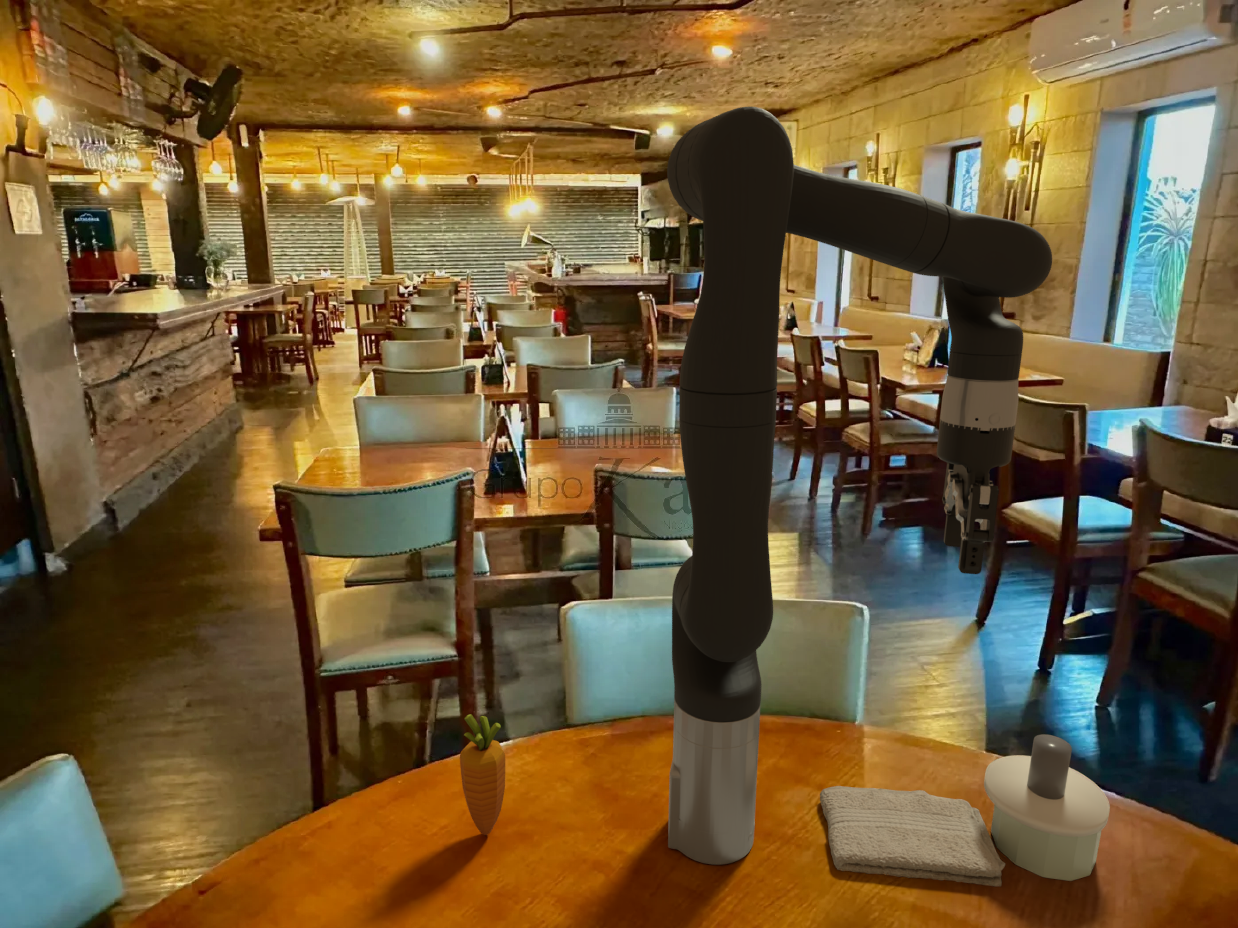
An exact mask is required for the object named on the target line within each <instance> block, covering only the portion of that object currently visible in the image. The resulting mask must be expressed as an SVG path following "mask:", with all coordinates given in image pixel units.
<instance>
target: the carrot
mask: <svg viewBox="0 0 1238 928" xmlns="http://www.w3.org/2000/svg"><path fill="white" fill-rule="evenodd" d="M464 721H465V722H466V724H467V725H468V726H469V728H470V729H471V731H472V732H473V734H472V733H471V732H465V733H464V734H463V736H465V738H467V739H468V740H470V742H469V743H468V744H467V745H465V747H464V748H463V749H462V750H461V751H460V753H459V766H460V775H461V783H462V790H463V794H464V799H465V801H466V806H467V809H468V812H469V814H470V817H471V819H472V821H473V823H474V825H475V827H476V829H478V831H479V832H480V834H481V835H484V836H488V835H489V834H490V833H491V832H492V830H493V828H494V826H495V825H496V822H497V821H498V819H499V816H500V813H501V810H502V806H503V801H504V795H505V790H506V789H505V788H506V754H505V751H504V749H503V747H502V745H501V744H500V742H499V741H497V740H496V739H495V740H494V738H495V736H496V735H497V732H499V730H500V729H501V728H502V727H501V724H500V723H498V722H495V723H494V724H493V725H492V726H491V727H490V724H489V723H490V722H489V720H488V717H487V716H485V715H481V716H479V721H480V723H481V727H482V730H481V727H480V725H479V723H478V721H477V720H476V719H475V717H474V716H473V714H472V713H471V714H467V715H466V716H465V717H464Z"/></svg>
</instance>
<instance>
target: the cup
mask: <svg viewBox="0 0 1238 928" xmlns="http://www.w3.org/2000/svg"><path fill="white" fill-rule="evenodd" d="M993 807H994V808H993V814H992V819H991V820H992V821H991V826H990V827H991V829H990V833H991V835H992V839H993V841H994V845H995V848H997V849H998V851H1000V852H1001V853H1002V854H1003V855H1004V856H1006V857H1007V858H1008V859H1009V860H1010V861H1011V862H1012V863H1014V864H1015V865H1016V866H1018V867H1020V868H1022V869H1025V870H1027V871H1028V872H1031V873H1033V874H1035V875H1037V876H1039V877H1042V878H1046V879H1055V880H1061V881H1069V882H1072V881H1075V880H1079V879H1081V878H1085V877H1089V876H1091V873H1092V872H1093V869H1094V867H1095V864H1096V862H1097V857H1098V853H1099V852H1098V851H1099V846H1100V841H1101V835H1102V830H1101V831H1099V832H1097V833H1095V834H1092V835H1088V836H1082V837H1067V836H1059V835H1054V834H1049V833H1045V832H1042V831H1039V830H1036V829H1033V828H1031V827H1028V826H1026V825H1024V824H1022V823H1020V822H1018V821H1016V820H1014V819H1013V818H1011V817H1009V816H1008V815H1006V814H1005V813H1004V812H1002V811H1001V810H1000V809H999V808H998V807H997V806H996V805H995V804H993Z"/></svg>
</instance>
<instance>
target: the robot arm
mask: <svg viewBox="0 0 1238 928" xmlns="http://www.w3.org/2000/svg"><path fill="white" fill-rule="evenodd" d="M666 168H667V169H666V171H667V172H666V173H667V174H666V176H667V183H668V186H669V187H668V188H669V190H670V192H671V194H672V197H673V198H674V200H675V201H676V203H677V204H678V206H679V207H680V208H681V209H682V210H683V211H684V212H685V213H687V214H688V215H690V216H691V217H693V218H694V219H697V220H698V221H701V222H702V226H703V255H704V257H703V258H704V259H703V261H704V262H703V276H702V285H701V288H700V289H701V291H700V295H699V299H698V302H697V305H696V308H695V313H694V315H693V318H692V322H691V324H690V328H689V332H688V334H687V338H686V342H685V345H684V349H683V353H682V358H681V362H680V363H681V364H680V371H679V372H680V374H679V397H678V398H679V400H678V401H679V405H678V406H679V407H678V408H679V414H678V415H679V422H678V423H679V435H680V448H681V455H682V456H681V457H682V462H683V470H684V477H685V481H686V488H687V492H688V499H689V504H690V510H691V518H692V519H691V520H692V549H691V550H692V551H691V552H692V554H691V556H689V557H688V558H687V559H686V560H685V561H684V562H683V564H682V565H681V566H680V567H679V570H678V571H677V573H676V576H675V578H674V582H673V587H672V596H671V597H672V598H671V599H672V600H671V602H672V603H671V663H672V672H673V683H674V686H673V687H674V688H673V689H674V693H673V694H674V695H673V697H674V698H673V700H674V701H673V735H672V737H673V740H672V744H673V746H672V761H671V765H670V769H669V778H668V779H669V783H668V784H669V785H668V786H669V787H668V789H669V790H668V826H667V827H668V828H667V830H668V834H667V836H668V839H667V847H668V848H669V849H673V850H678V851H679V852H681V853H682V854H683V855H684V856H686V857H687V858H690V859H692V860H694V861H696V862H699V863H702V864H709V865H727V864H732V863H734V862H738V861H740V860H741V859H743V858H744V857H745V856H746V855H747V854H749V852H750V851H751V849H752V847H753V845H754V841H755V840H754V839H755V828H756V826H755V825H756V823H755V822H756V821H755V819H756V803H757V801H756V799H757V783H758V782H757V778H758V761H759V760H758V758H759V744H760V743H759V741H760V722H761V719H760V717H761V704H762V677H761V672H760V668H759V662H758V656H757V655H758V654H757V650H759V648H760V647H761V646H762V644H763V643H764V642H765V640H766V639H767V637H768V635H769V632H770V630H771V627H772V623H773V620H774V619H773V618H774V601H773V600H774V598H773V588H772V587H773V586H772V575H771V562H770V547H769V545H770V544H769V516H770V515H769V514H770V504H771V495H772V494H771V493H772V484H773V483H772V482H773V468H774V453H775V450H774V449H775V434H776V422H777V406H778V405H777V404H778V403H777V401H778V397H777V396H778V351H779V350H778V349H779V329H780V302H781V301H780V296H781V295H780V294H781V293H780V292H781V275H782V268H783V267H782V265H783V259H784V249H785V244H786V243H785V242H786V235H787V234H790V235H794V236H797V237H803V238H806V239H809V240H813V241H816V242H820V243H822V244H825V245H828V246H832V247H834V248H838V249H840V250H843V251H846V252H849V253H852V254H855V255H858V256H861V257H864V258H867V259H869V260H872V261H876V262H878V263H882V264H885V265H888V266H890V267H894V268H897V269H900V270H903V271H906V272H908V273H913V274H916V275H921V276H926V277H939V278H941V277H942V282H943V283H942V284H943V292H944V298H945V299H944V300H945V306H946V314H947V315H946V316H947V320H948V325H949V330H950V337H951V341H950V345H949V353H948V354H949V355H948V362H947V363H948V364H947V376H946V381H945V385H944V389H943V393H942V399H941V406H940V407H941V408H940V415H939V427H938V434H937V446H936V456H937V457H938V458H939V459H940V460H941V461H943V462H945V463H946V469H945V470H946V471H945V478H944V486H943V493H942V498H941V501H942V504H943V505H944V507H943V508H944V509H943V510H944V512H945V514H946V515H945V516H946V517H945V523H944V524H945V526H944V532H943V533H944V534H943V542H944V544H945V546H947V547H954V548H955V547H956V548H959V549H960V550H959V555H958V556H959V558H958V565H957V566H958V567H957V568H958V570H959V572H960V573H961V574H967V575H968V574H969V575H978V574H980V573H981V572H982V566H983V559H984V553H985V552H984V550H985V542H986V543H992V542H993V540H994V538H995V534H994V532H995V526H996V525H995V524H996V515H997V507H998V506H997V504H998V497H999V492H1000V490H999V487H998V485H994V482H993V480H990V472H991V471H990V470H992V469H994V468H1001V467H1005V466H1007V465H1008V464H1009V463H1011V461H1012V454H1013V447H1014V439H1015V432H1016V431H1015V430H1016V424H1017V416H1018V415H1017V414H1018V408H1019V379H1020V372H1021V364H1022V358H1023V357H1022V356H1023V349H1024V332H1023V329H1022V327H1021V326H1019V325H1018V324H1016V323H1015V322H1014V321H1013V322H1012V321H1010V320H1008V319H1007V318H1005V316H1004V315H1003V312H1002V307H1001V300H1000V298H1009V299H1010V298H1018V297H1022V296H1026V295H1029V294H1030V293H1032V292H1034V291H1035V290H1036V289H1038V288H1039V287H1040V286H1041V285H1043V283H1044V282H1045V281H1046V279H1047V278H1048V276H1049V274H1050V272H1051V271H1052V265H1053V254H1052V249H1051V247H1050V245H1049V242H1048V241H1047V239H1046V238H1045V237H1044V236H1043V234H1041V232H1039V231H1038V230H1037V229H1035V228H1033V227H1031V226H1029V225H1028V224H1026V223H1025V224H1024V223H1022V222H1019V221H1014V220H1011V219H1006V218H1002V217H996V216H991V215H986V214H982V213H975V212H969V211H964V210H961V209H957V208H954V207H952V206H950V205H948V204H946V203H943V202H940V201H937V200H935V199H932V198H930V197H928V196H927V197H926V196H924V195H921V194H918V193H915V192H913V191H909V190H907V189H904V188H900V187H896V186H891V185H887V184H882V183H878V182H872V181H866V180H860V179H854V178H853V179H852V178H849V177H843V176H837V175H833V174H828V173H824V172H819V171H816V170H812V169H809V168H805V167H802V166H799V165H796V164H794V153H793V147H792V144H791V141H790V137H789V135H788V133H787V131H786V129H785V127H784V125H782V123H781V122H780V120H779V119H778V118H777V117H776V116H774V115H773V114H772V113H771V112H769V111H767V110H766V109H763V108H762V107H757V106H743V107H742V106H741V107H737V108H732V109H731V110H728V111H725V112H722V113H719V114H718V115H716V116H713V117H711V118H708V119H706V120H704V121H702V122H700V123H698V124H697V125H695V126H693V127H691V129H688V131H686V132H685V133H684V134H683V135H682V136H681V137H680V138H679V139H678V140H677V142H676V143H675V145H674V147H673V148H672V150H671V151H670V155H669V158H668V161H667V167H666ZM975 522H978V523H979V526H980V528H979V529H976V528H975Z"/></svg>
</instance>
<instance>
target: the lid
mask: <svg viewBox="0 0 1238 928" xmlns="http://www.w3.org/2000/svg"><path fill="white" fill-rule="evenodd" d="M1032 742H1033V743H1032V749H1031V755H1022V754H1021V755H1017V754H1016V755H1006V756H1003V757H998V758H997V759H994V760H992V761H991V762H990V763H989V764H988V765H987V767H986V769H985V772H984V773H985V774H984V778H983V779H984V781H983V787H984V791H985V793H986V795H987V797H988V798H989V800H990V801H991V802H992V803H993V805H996V806H997V807H998V808H999V809H1000V810H1001V811H1002V812H1004V813H1005V814H1006V815H1008V816H1009V817H1011V818H1013V819H1014V820H1016V821H1018V822H1020V823H1022V824H1024V825H1026V826H1028V827H1031V828H1033V829H1036V830H1039V831H1042V832H1045V833H1049V834H1054V835H1059V836H1067V837H1082V836H1088V835H1092V834H1095V833H1097V832H1099V831H1101V832H1102V830H1103V829H1104V828H1105V827H1106V826H1107V824H1108V821H1109V815H1110V810H1111V808H1110V807H1111V805H1110V802H1109V798H1108V797H1107V796H1106V794H1105V792H1104V791H1103V790H1102V788H1101V787H1099V786H1098V784H1096V782H1094V781H1093V780H1092V779H1090V778H1089V777H1087V775H1084V774H1083V773H1081V772H1079V771H1078V770H1076V769H1074V768H1071V767H1070V764H1071V763H1070V762H1071V756H1072V750H1073V749H1072V745H1071V744H1070V743H1069V742H1067V741H1066V740H1065V739H1063V738H1061V737H1058V736H1055V735H1051V734H1044V733H1043V734H1038V735H1035V736H1034V738H1033V741H1032Z"/></svg>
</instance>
